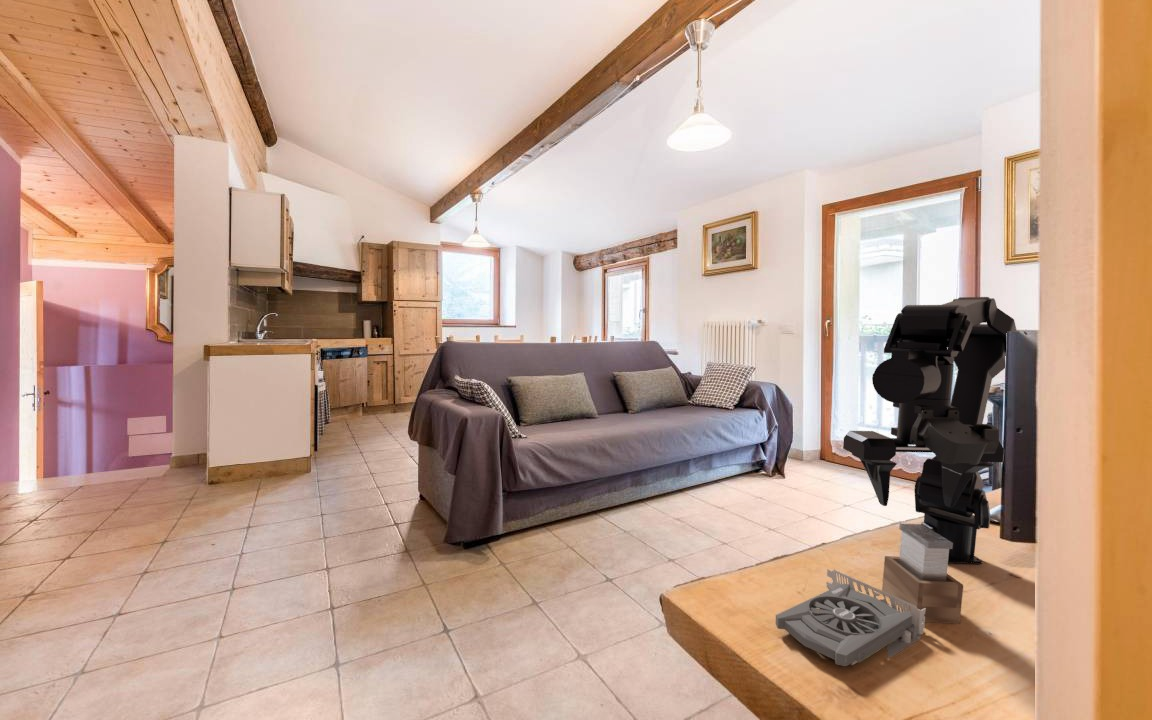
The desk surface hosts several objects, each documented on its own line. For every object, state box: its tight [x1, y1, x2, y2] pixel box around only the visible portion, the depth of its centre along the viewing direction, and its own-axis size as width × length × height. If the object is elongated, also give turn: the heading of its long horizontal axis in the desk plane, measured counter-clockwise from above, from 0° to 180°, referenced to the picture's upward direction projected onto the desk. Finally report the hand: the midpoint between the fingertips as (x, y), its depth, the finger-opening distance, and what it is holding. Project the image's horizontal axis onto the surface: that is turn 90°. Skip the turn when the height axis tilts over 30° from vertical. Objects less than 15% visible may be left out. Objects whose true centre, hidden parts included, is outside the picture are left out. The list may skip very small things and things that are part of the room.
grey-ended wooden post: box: [898, 523, 953, 582], centre depth 63 cm, size 6×3×8 cm, turn 179°
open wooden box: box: [881, 555, 964, 624], centre depth 63 cm, size 5×7×5 cm
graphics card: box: [775, 569, 926, 667], centre depth 58 cm, size 17×4×12 cm
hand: (915, 505), depth 68 cm, fingers open, 9 cm apart
